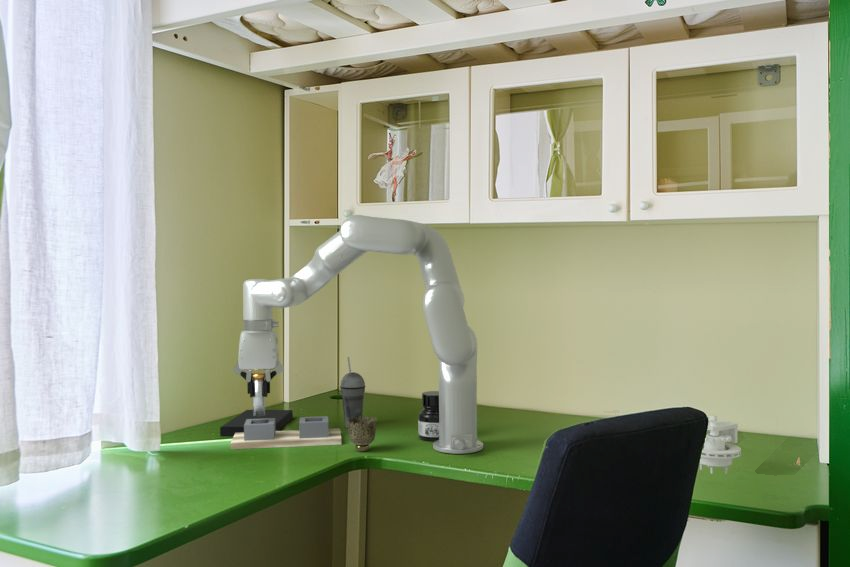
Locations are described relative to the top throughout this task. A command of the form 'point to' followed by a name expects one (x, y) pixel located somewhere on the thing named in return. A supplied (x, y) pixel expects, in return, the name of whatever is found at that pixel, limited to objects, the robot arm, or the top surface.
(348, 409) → the beverage cup
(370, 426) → the cup
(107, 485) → the top surface
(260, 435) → the dock socket
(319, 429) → the lock mount
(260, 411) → the pin
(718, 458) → the mechanical part
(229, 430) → the external hard drive
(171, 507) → the top surface
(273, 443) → the dock board
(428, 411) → the ink bottle
